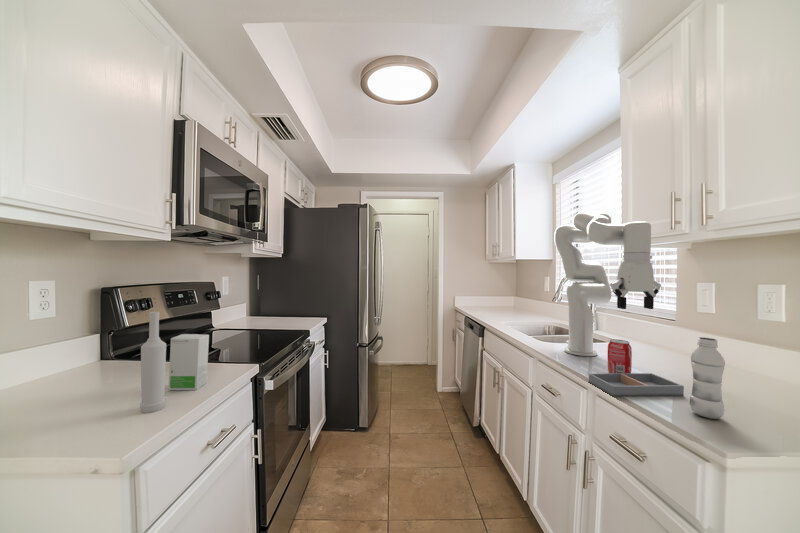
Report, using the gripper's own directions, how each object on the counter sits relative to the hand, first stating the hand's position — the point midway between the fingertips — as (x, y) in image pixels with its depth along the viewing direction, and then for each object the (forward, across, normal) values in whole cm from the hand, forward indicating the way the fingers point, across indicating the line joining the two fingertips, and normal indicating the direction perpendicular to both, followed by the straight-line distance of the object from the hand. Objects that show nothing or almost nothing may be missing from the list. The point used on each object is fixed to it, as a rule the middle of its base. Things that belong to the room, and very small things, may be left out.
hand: (635, 308), depth 106 cm
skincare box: (+24, +145, +1) cm, 147 cm away
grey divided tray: (+24, +7, +8) cm, 26 cm away
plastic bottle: (+24, +3, +26) cm, 36 cm away
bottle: (+24, +146, +16) cm, 148 cm away
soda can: (+25, +1, -5) cm, 25 cm away
